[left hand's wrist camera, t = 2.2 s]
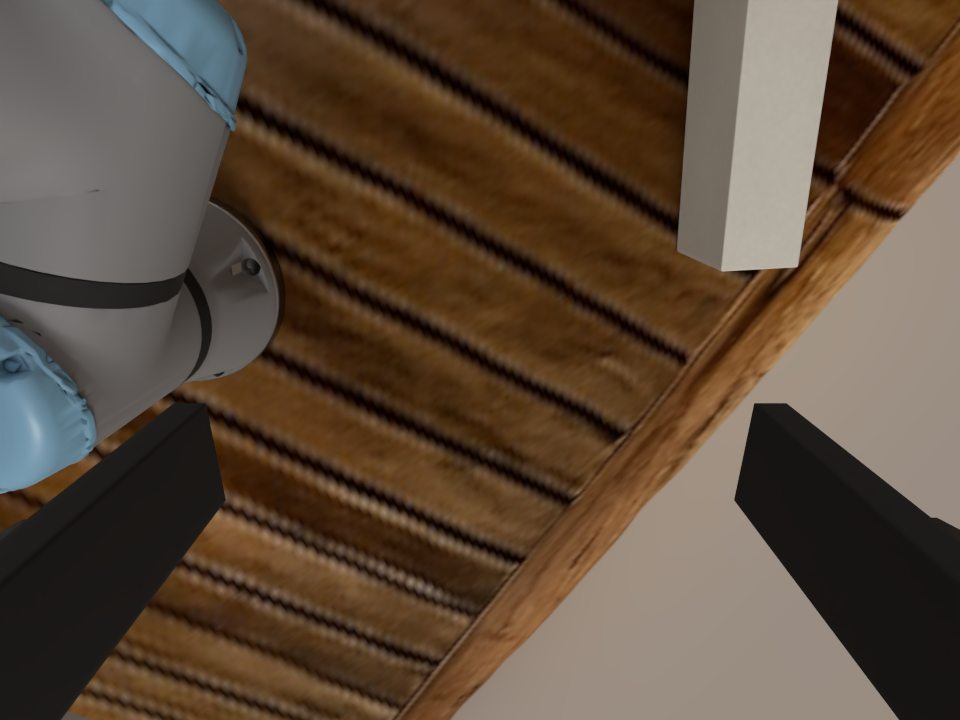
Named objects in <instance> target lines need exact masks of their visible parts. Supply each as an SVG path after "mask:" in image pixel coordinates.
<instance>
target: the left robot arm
mask: <svg viewBox="0 0 960 720" xmlns="http://www.w3.org/2000/svg"><path fill="white" fill-rule="evenodd" d="M246 64H247V48H246V43H245V40H244V37H243V35H242V33H241V31H240V29H239V27H238V25H237V24H236V22H235V21H234V19H233V18H232V17H231V16H230V15H229V13H228V12H227V11H226V10H225V9H224V8H223V7H222V6H221V5H220V4H219V3H218V2H217V1H215V0H0V494H1V493H6V492H8V491H15V490H17V489H23V488H26V487H29V486H31V485H33V484H36V483H38V482H39V481H41V480H43V479H45V478H47V477H49V476H50V475H52V474H54V473H56V472H58V471H59V470H61V469H63V468H65V467H67V466H68V465H70V464H74V463H76V462H78V461H80V460H81V459H83V458H84V457H85V456H87V455H89V452H90V451H92V450H93V447H95V446H96V445H97V444H99V443H100V442H102V441H103V440H104V439H106V438H107V437H108V436H110V435H111V434H113V433H114V432H115V431H117V430H118V429H120V428H121V427H122V426H124V425H125V424H127V423H128V422H129V421H131V420H132V419H134V418H135V417H136V416H138V415H139V414H141V413H142V412H143V411H145V410H146V409H147V408H149V407H150V406H152V405H153V404H154V403H156V402H157V401H159V400H160V399H161V398H163V397H164V396H166V395H167V394H168V393H170V392H171V391H173V390H174V389H175V388H177V387H178V386H179V385H181V384H184V383H190V382H193V381H202V380H210V379H215V378H220V377H224V376H227V375H230V374H232V373H235V372H237V371H239V370H241V369H243V368H244V367H246V366H247V365H249V364H250V363H251V362H252V361H253V360H255V359H256V358H257V357H258V356H259V355H261V354H262V353H263V352H264V351H265V350H266V349H267V348H268V347H269V345H270V344H271V343H272V341H273V340H274V338H275V336H276V335H277V332H278V330H279V328H280V325H281V322H282V319H283V314H284V307H285V290H284V283H283V278H282V274H281V271H280V268H279V265H278V263H277V260H276V258H275V256H274V254H273V252H272V250H271V248H270V247H269V245H268V243H267V242H266V240H265V239H264V238H263V236H262V235H261V234H260V232H259V231H258V230H257V229H256V228H255V227H254V226H253V225H252V224H251V223H250V222H249V221H248V220H247V219H246V218H245V217H244V216H242V215H241V214H240V213H238V212H237V211H236V210H234V209H233V208H231V207H230V206H228V205H226V204H224V203H223V202H221V201H219V200H217V199H214V198H212V197H210V196H211V193H212V189H213V186H214V183H215V180H216V176H217V173H218V170H219V167H220V163H221V160H222V157H223V154H224V150H225V147H226V144H227V141H228V137H229V134H230V131H233V132H234V131H235V128H236V125H237V124H236V119H235V117H234V114H235V110H236V105H237V101H238V97H239V93H240V89H241V85H242V81H243V77H244V73H245V69H246ZM225 500H226V499H225V494H224V490H223V485H222V480H221V475H220V470H219V466H218V461H217V456H216V451H215V446H214V441H213V437H212V432H211V427H210V422H209V417H208V413H207V408H206V403H174V404H172V405H171V406H170V407H168V408H167V409H166V410H165V411H163V412H162V413H161V414H160V415H158V416H157V417H156V418H155V419H153V420H152V421H151V422H149V423H148V424H147V425H146V426H144V427H143V428H142V429H141V430H139V431H138V432H137V433H136V434H134V435H133V436H132V437H131V438H129V439H128V440H127V441H125V442H124V443H123V444H122V445H120V446H119V447H118V448H117V449H115V450H114V451H113V452H112V453H110V454H109V455H108V456H106V457H105V458H104V459H103V460H101V461H100V462H99V463H98V464H96V465H95V466H94V467H93V468H91V469H90V470H89V471H88V472H86V473H85V474H84V475H82V476H81V477H80V478H79V479H77V480H76V481H75V482H74V483H72V484H71V485H70V486H69V487H67V488H66V489H65V490H63V491H62V492H61V493H60V494H58V495H57V496H56V497H55V498H53V499H52V500H51V501H50V502H48V503H47V504H46V505H44V506H43V507H42V508H41V509H39V510H38V511H37V512H36V513H34V514H33V515H32V516H31V517H29V518H28V519H27V520H22V521H20V522H18V523H17V524H15V525H13V526H11V527H9V528H7V529H5V530H3V531H1V532H0V720H61V719H62V718H63V716H64V715H65V713H66V712H67V711H68V710H69V708H70V707H71V706H72V704H73V703H74V702H75V700H76V699H77V698H78V696H79V695H80V694H81V692H82V691H83V690H84V688H85V687H86V686H87V684H88V683H89V682H90V680H91V679H92V678H93V676H94V675H95V674H96V672H97V671H98V670H99V668H100V667H101V666H102V664H103V663H104V662H105V660H106V659H107V658H108V656H109V655H110V654H111V652H112V651H113V650H114V648H115V647H116V646H117V644H118V643H119V642H120V640H121V639H122V638H123V636H124V635H125V634H126V632H127V631H128V630H129V628H130V627H131V626H132V624H133V623H134V622H135V620H136V619H137V618H138V616H139V615H140V614H141V612H142V611H143V610H144V608H145V607H146V606H147V604H148V603H149V602H150V600H151V599H152V598H153V596H154V595H155V594H156V592H157V591H158V590H159V588H160V587H161V586H162V584H163V583H164V582H165V580H166V579H167V578H168V576H169V575H170V574H171V572H172V571H173V570H174V568H175V567H176V566H177V564H178V563H179V562H180V560H181V559H182V558H183V556H184V555H185V554H186V552H187V551H188V550H189V548H190V547H191V546H192V544H193V543H194V542H195V540H196V539H197V538H198V536H199V535H200V534H201V532H202V531H203V530H204V528H205V527H206V526H207V524H208V523H209V522H210V520H211V519H212V518H213V516H214V515H215V514H216V512H217V511H218V510H219V508H220V507H221V506H222V504H223V503H224V502H225ZM734 500H735V502H736V503H737V504H738V506H739V507H740V508H741V510H742V511H743V512H744V514H745V515H746V516H747V518H748V519H749V520H750V522H751V523H752V524H753V526H754V527H755V528H756V530H757V531H758V532H759V534H760V535H761V536H762V538H763V539H764V540H765V542H766V543H767V544H768V546H769V547H770V548H771V550H772V551H773V552H774V554H775V555H776V556H777V558H778V559H779V560H780V562H781V563H782V564H783V566H784V567H785V568H786V570H787V571H788V572H789V574H790V575H791V576H792V578H793V579H794V580H795V582H796V583H797V584H798V585H799V587H800V588H801V590H802V591H803V592H804V594H805V595H806V596H807V598H808V599H809V600H810V602H811V603H812V604H813V606H814V607H815V608H816V610H817V611H818V612H819V614H820V615H821V616H822V618H823V619H824V620H825V621H826V623H827V624H828V626H829V627H830V628H831V630H832V631H833V632H834V633H835V635H836V636H837V638H838V639H839V640H840V642H841V643H842V644H843V645H844V647H845V648H846V650H847V651H848V652H849V654H850V655H851V656H852V658H853V659H854V660H855V662H856V663H857V664H858V666H859V667H860V668H861V670H862V671H863V672H864V674H865V675H866V676H867V678H868V679H869V680H870V681H871V683H872V684H873V685H874V687H875V688H876V690H877V691H878V692H879V694H880V695H881V696H882V697H883V699H884V700H885V702H886V703H887V704H888V706H889V707H890V708H891V710H892V711H893V712H894V713H895V715H896V716H897V718H898V719H899V720H960V530H959V529H957V528H955V527H953V526H952V525H950V524H948V523H946V522H944V521H942V520H940V519H938V518H931V517H929V516H928V515H927V514H926V513H924V512H923V511H922V510H921V509H919V508H918V507H917V506H915V505H914V504H913V503H912V502H910V501H909V500H908V499H907V498H905V497H904V496H903V495H902V494H900V493H899V492H898V491H897V490H895V489H894V488H893V487H891V486H890V485H889V484H888V483H886V482H885V481H884V480H883V479H881V478H880V477H879V476H878V475H876V474H875V473H874V472H872V471H871V470H870V469H869V468H867V467H866V466H865V465H864V464H862V463H861V462H860V461H859V460H857V459H856V458H855V457H854V456H852V455H851V454H850V453H848V452H847V451H846V450H845V449H843V448H842V447H841V446H840V445H838V444H837V443H836V442H835V441H833V440H832V439H831V438H829V437H828V436H827V435H826V434H824V433H823V432H822V431H821V430H819V429H818V428H817V427H816V426H814V425H813V424H812V423H810V422H809V421H808V420H807V419H805V418H804V417H803V416H802V415H800V414H799V413H798V412H797V411H795V410H794V409H793V408H792V407H790V406H789V405H788V404H786V403H755V404H754V408H753V413H752V417H751V422H750V427H749V432H748V437H747V441H746V446H745V451H744V456H743V461H742V466H741V470H740V475H739V480H738V485H737V490H736V494H735V499H734Z"/></svg>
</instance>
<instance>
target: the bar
mask: <svg viewBox="0 0 960 720" xmlns="http://www.w3.org/2000/svg"><path fill="white" fill-rule="evenodd" d="M837 5H838V0H694V14H693V29H692V43H691V57H690V71H689V85H688V100H687V114H686V128H685V142H684V157H683V171H682V185H681V199H680V214H679V228H678V242H677V251H678V252H680V253H682V254H684V255H687V256H689V257H691V258H693V259H696V260H698V261H700V262H702V263H704V264H707V265H709V266H711V267H713V268H715V269H718V270H720V271H737V270H755V269H773V268H791V267H798V262H799V255H800V249H801V242H802V235H803V229H804V222H805V216H806V209H807V202H808V196H809V189H810V183H811V176H812V170H813V163H814V156H815V150H816V143H817V137H818V130H819V123H820V117H821V110H822V104H823V97H824V90H825V84H826V77H827V71H828V64H829V57H830V51H831V44H832V38H833V31H834V24H835V18H836V11H837Z"/></svg>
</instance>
